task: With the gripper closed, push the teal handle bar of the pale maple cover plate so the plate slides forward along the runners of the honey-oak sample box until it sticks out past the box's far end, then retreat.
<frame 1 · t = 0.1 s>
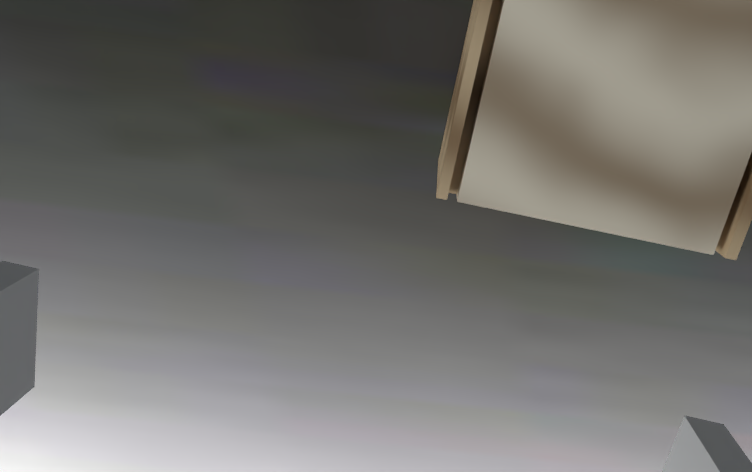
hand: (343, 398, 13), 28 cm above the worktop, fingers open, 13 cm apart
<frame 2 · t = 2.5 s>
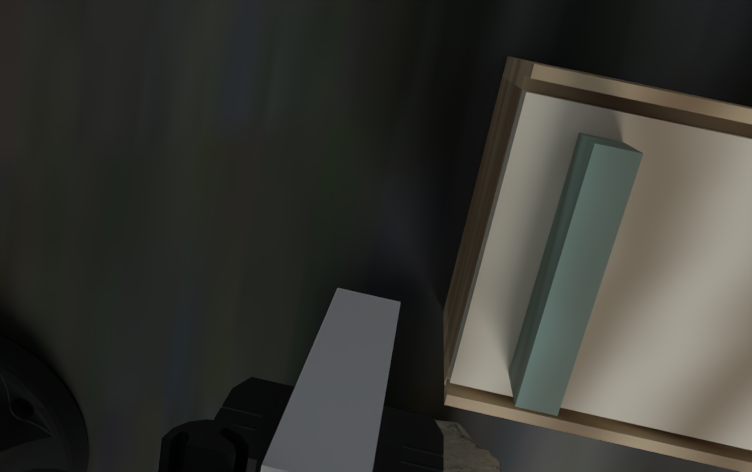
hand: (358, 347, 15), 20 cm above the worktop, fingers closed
sample box: (681, 236, 34), on the worktop
stone: (409, 444, 39), on the worktop
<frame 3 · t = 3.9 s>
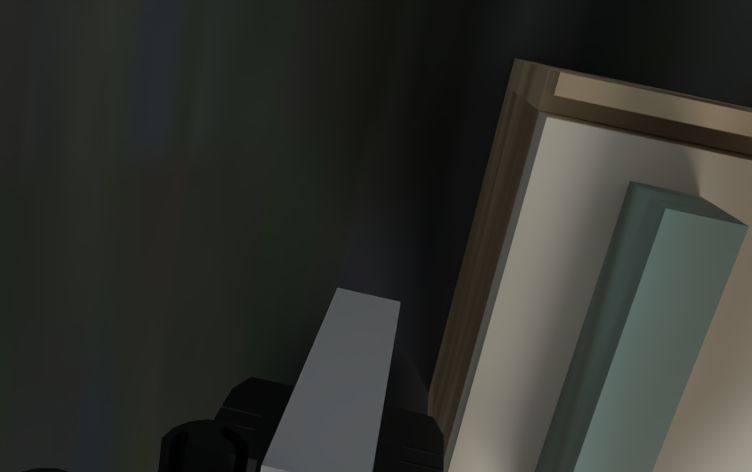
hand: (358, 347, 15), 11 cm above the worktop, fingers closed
sample box: (748, 301, 25), on the worktop
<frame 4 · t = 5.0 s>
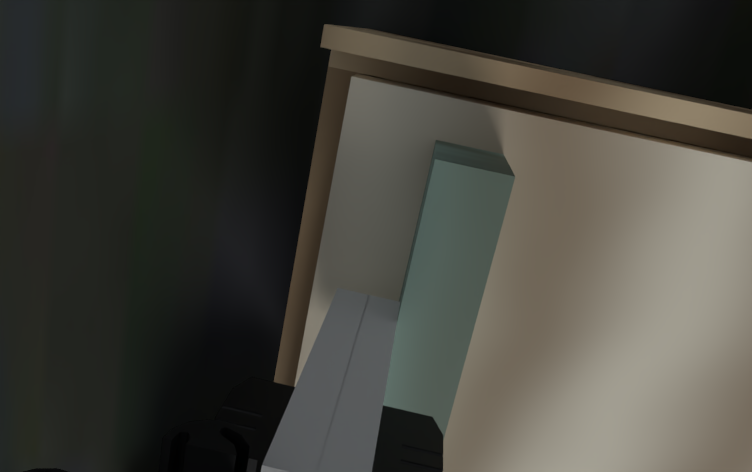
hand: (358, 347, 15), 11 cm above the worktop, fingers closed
cover plate: (746, 423, 16), point 10 cm above the worktop, slide at 0.8 cm, touching gripper
sample box: (610, 271, 25), on the worktop
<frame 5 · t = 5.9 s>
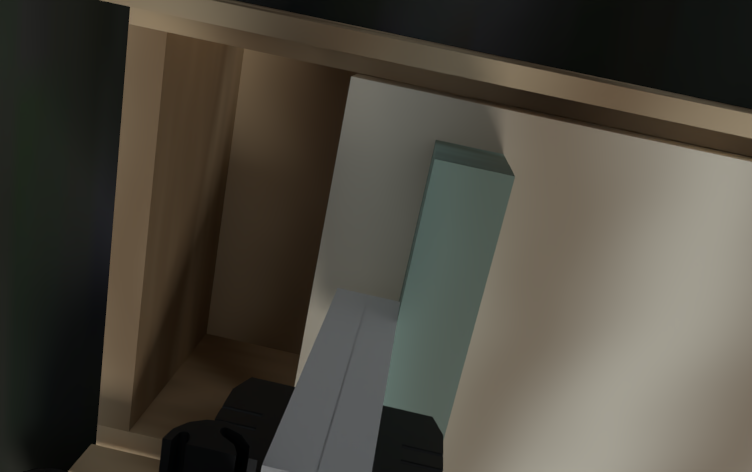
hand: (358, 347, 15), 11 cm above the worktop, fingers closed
cover plate: (746, 423, 16), point 10 cm above the worktop, slide at 6.0 cm, touching gripper
sample box: (480, 243, 26), on the worktop
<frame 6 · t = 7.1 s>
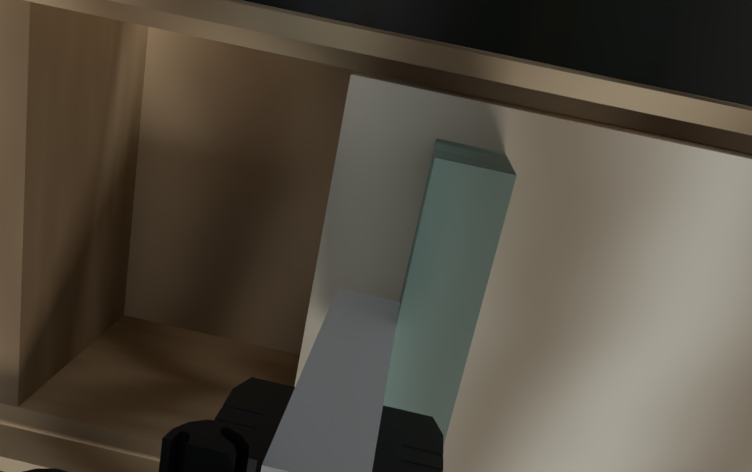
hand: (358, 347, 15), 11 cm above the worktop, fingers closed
sample box: (393, 223, 26), on the worktop
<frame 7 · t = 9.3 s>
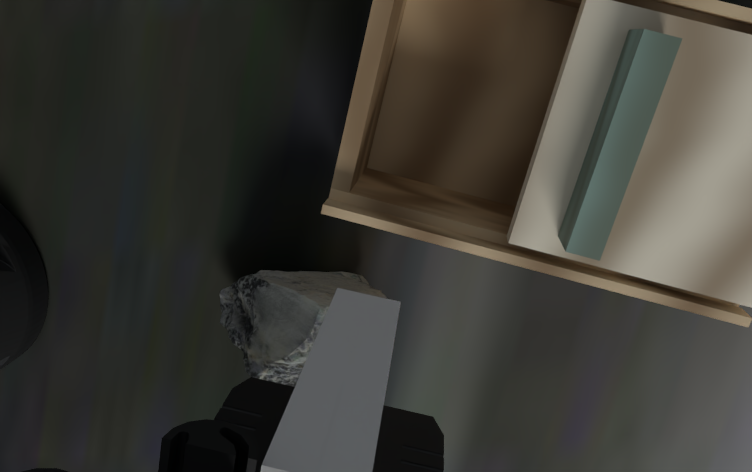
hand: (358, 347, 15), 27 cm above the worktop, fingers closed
sample box: (549, 112, 40), on the worktop
stone: (322, 297, 45), on the worktop
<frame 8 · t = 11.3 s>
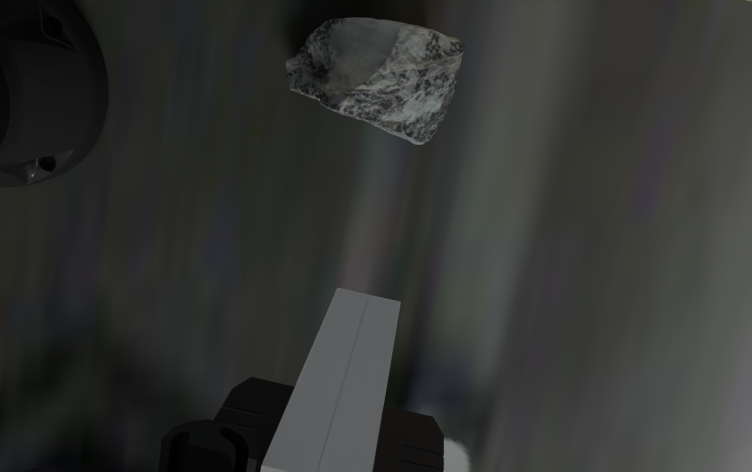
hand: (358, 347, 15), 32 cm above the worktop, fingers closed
stone: (386, 73, 45), on the worktop
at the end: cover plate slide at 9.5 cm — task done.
